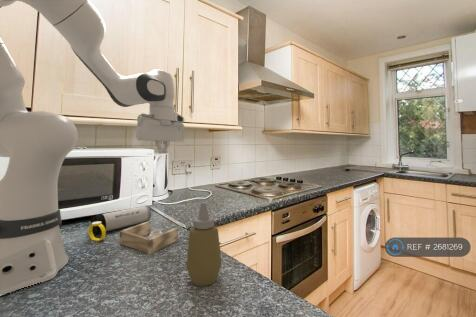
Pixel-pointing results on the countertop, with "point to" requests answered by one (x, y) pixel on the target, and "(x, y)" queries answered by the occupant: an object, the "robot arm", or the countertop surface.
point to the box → (148, 245)
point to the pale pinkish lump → (155, 233)
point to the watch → (100, 228)
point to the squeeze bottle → (203, 249)
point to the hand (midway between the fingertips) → (162, 153)
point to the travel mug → (121, 218)
